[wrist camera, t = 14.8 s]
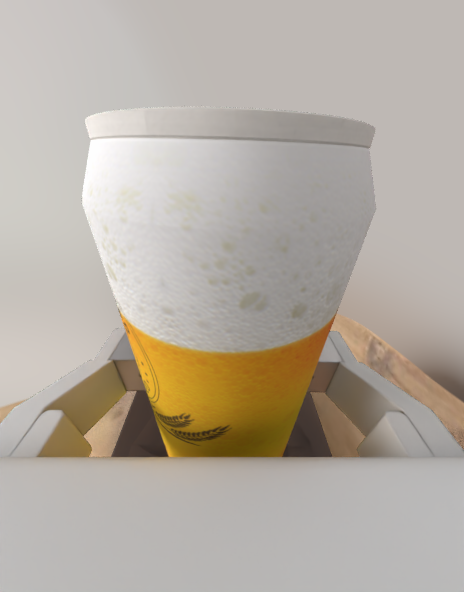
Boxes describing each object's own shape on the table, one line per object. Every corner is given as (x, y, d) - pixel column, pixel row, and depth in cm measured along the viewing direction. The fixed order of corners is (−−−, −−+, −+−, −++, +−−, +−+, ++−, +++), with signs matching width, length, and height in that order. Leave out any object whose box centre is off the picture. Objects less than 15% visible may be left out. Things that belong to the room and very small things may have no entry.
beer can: (177, 403, 15) (120, 135, 6) (261, 393, 16) (306, 143, 7) (168, 531, 10) (-133, 72, 2) (292, 506, 11) (546, 118, 2)
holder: (41, 708, 10) (3, 729, 8) (150, 386, 23) (145, 368, 21) (387, 698, 10) (420, 716, 8) (297, 387, 23) (303, 370, 22)
